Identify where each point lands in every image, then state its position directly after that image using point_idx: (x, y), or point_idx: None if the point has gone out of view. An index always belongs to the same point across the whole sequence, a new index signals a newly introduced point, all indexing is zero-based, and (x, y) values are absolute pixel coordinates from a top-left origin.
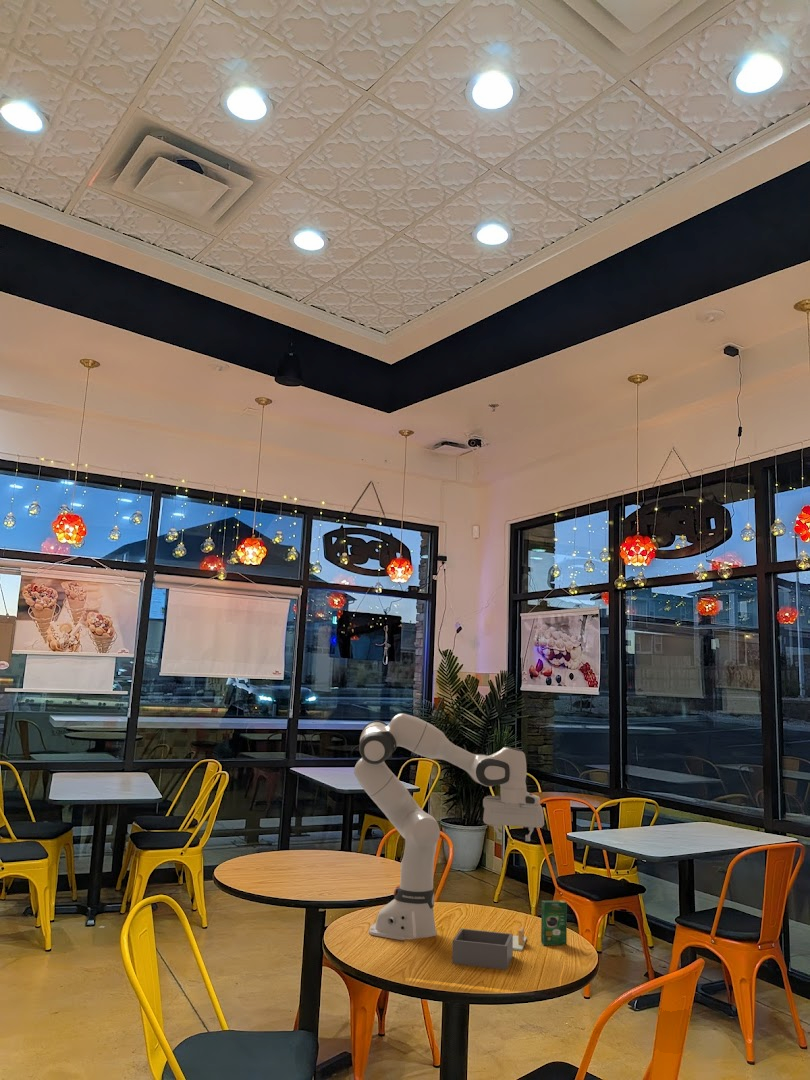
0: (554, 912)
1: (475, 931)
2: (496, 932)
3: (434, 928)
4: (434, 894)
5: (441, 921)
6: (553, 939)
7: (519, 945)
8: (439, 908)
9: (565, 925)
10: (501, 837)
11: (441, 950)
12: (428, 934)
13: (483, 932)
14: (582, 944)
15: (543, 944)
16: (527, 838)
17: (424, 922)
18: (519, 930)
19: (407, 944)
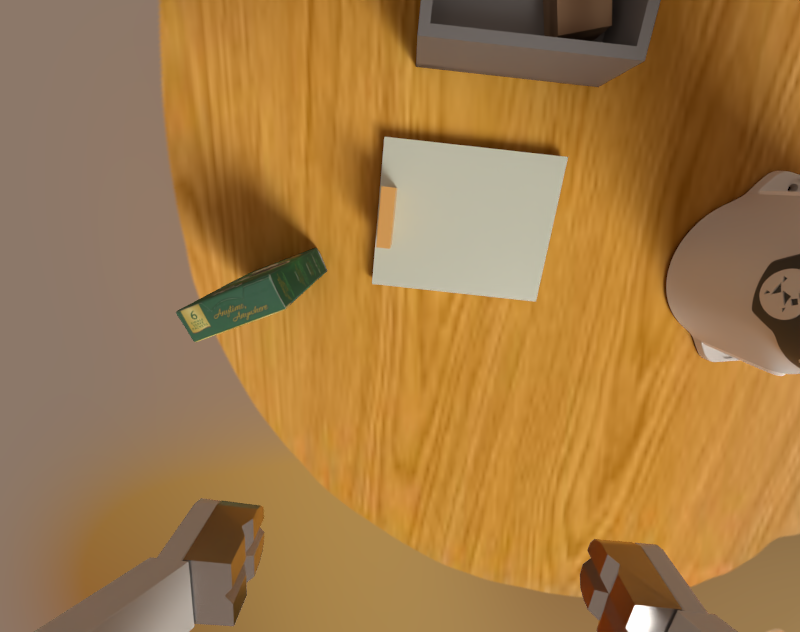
0: (244, 280)
1: (579, 42)
2: (488, 37)
3: (693, 263)
4: (795, 314)
5: (636, 422)
6: (282, 260)
7: (393, 176)
8: (631, 540)
9: (225, 285)
10: (601, 564)
11: (665, 101)
12: (711, 224)
13: (544, 37)
14: (204, 294)
15: (319, 256)
16: (215, 525)
17: (761, 223)
18: (391, 192)
19: (784, 142)
